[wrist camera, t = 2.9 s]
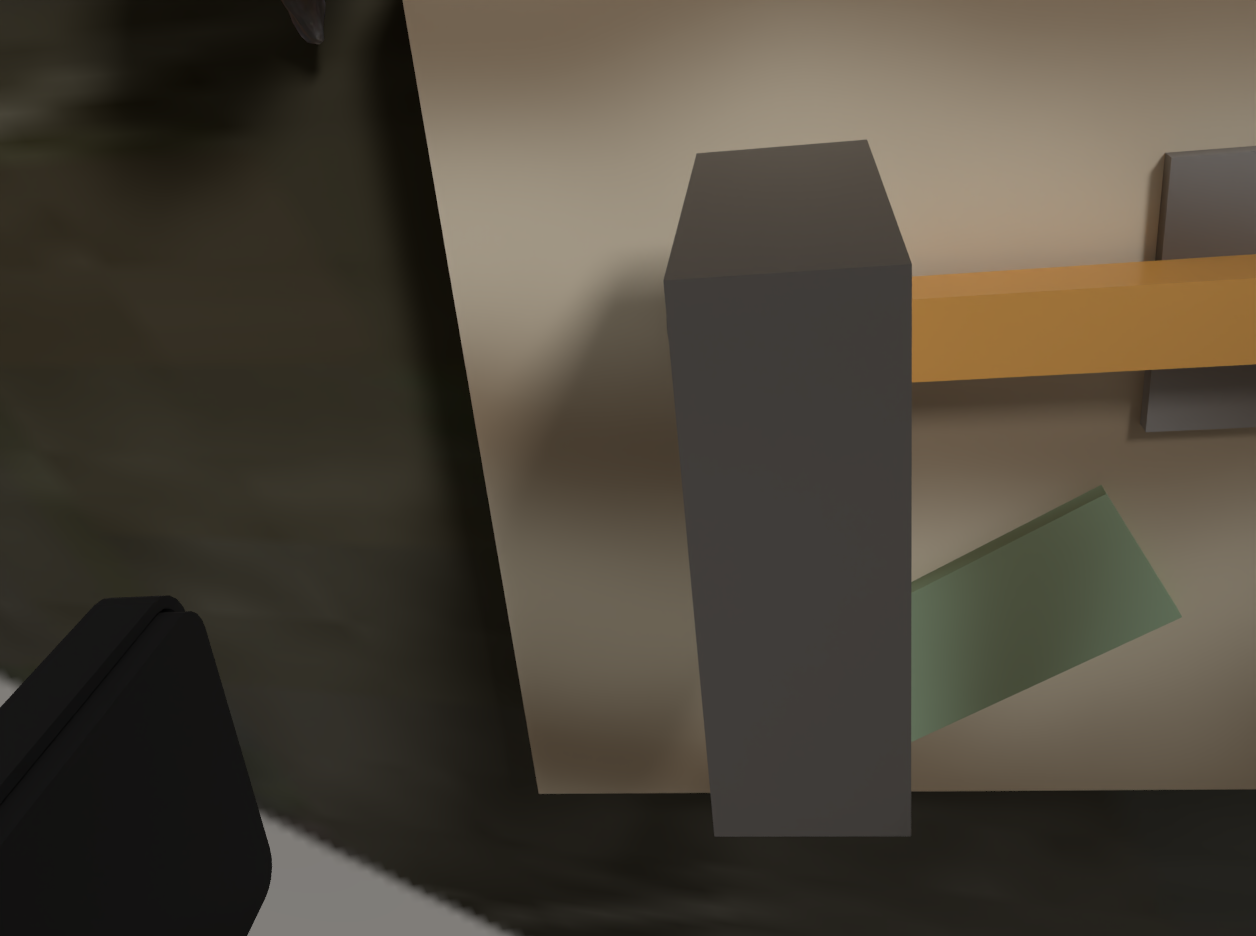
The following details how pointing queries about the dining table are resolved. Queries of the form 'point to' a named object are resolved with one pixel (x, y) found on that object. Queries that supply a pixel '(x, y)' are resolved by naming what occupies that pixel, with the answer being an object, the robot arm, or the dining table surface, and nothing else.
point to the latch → (853, 453)
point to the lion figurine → (307, 18)
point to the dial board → (941, 410)
